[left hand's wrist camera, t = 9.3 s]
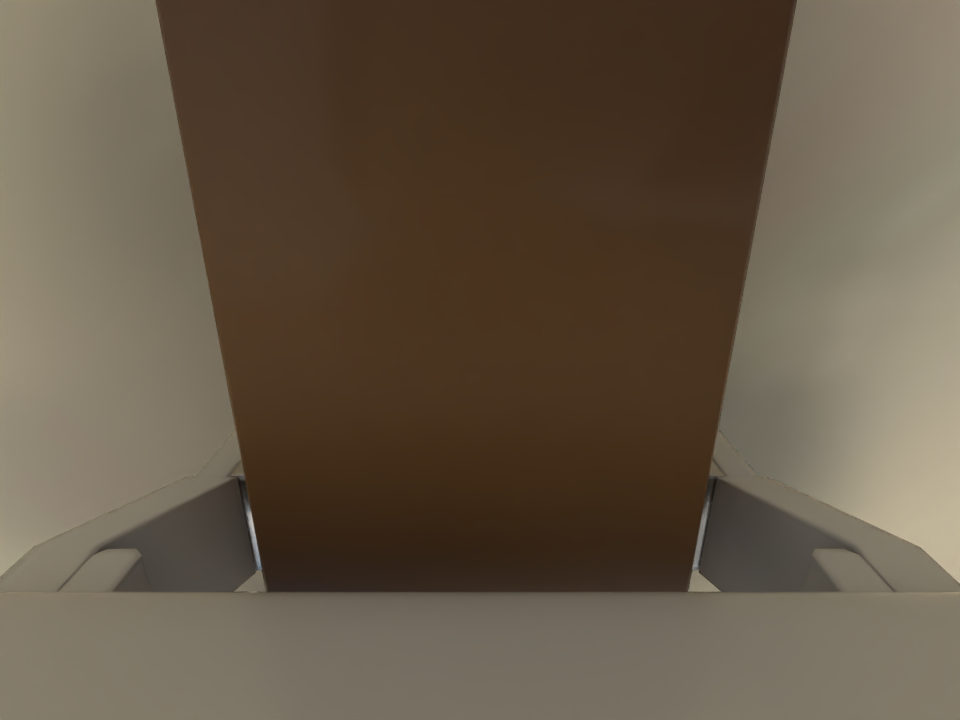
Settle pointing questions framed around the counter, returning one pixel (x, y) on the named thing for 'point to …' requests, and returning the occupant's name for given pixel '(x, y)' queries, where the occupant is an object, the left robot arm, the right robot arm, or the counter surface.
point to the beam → (476, 275)
